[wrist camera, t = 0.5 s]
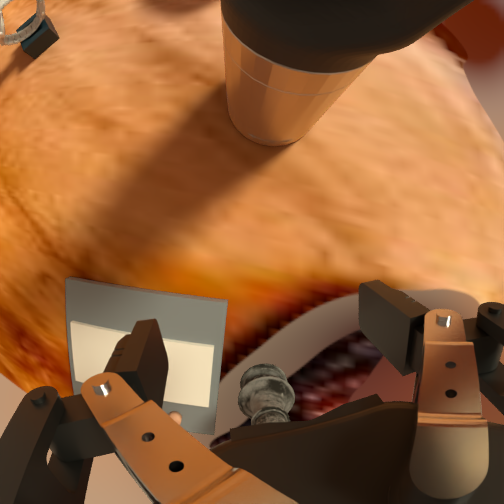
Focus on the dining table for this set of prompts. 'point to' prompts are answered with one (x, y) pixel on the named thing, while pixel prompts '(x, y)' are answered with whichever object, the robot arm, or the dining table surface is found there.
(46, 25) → the watch
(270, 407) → the salt shaker
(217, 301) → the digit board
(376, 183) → the dining table surface
